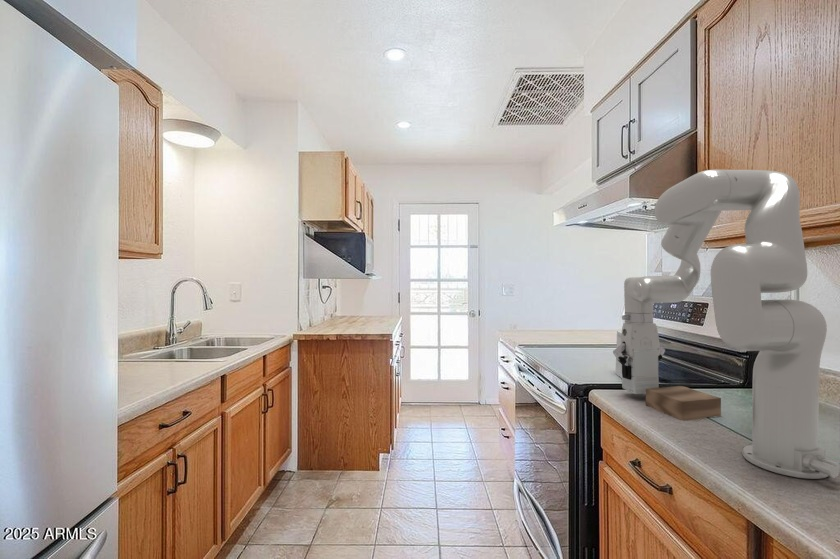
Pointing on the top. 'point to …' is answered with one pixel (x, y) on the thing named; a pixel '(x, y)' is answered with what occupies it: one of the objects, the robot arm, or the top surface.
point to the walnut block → (683, 402)
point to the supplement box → (642, 372)
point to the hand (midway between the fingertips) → (639, 377)
